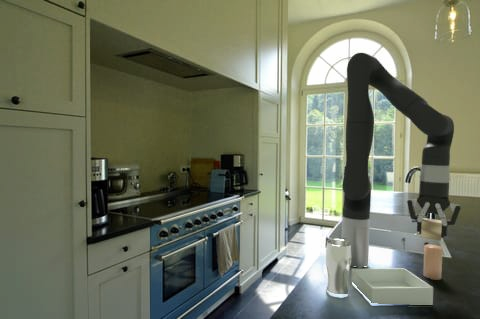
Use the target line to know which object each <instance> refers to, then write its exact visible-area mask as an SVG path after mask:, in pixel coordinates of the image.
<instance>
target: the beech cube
mask: <svg viewBox="0 0 480 319" xmlns="http://www.w3.org/2000/svg"><path fill="white" fill-rule="evenodd" d="M441 231H442V222H441V219H440V220H439V219H434V218H425V217H423V219H422V226H421V234H420V238H423V239H429V240H433V241H434V240H435V241H440V242H441V241H442V238H441Z"/></svg>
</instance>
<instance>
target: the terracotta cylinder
mask: <svg viewBox="0 0 480 319" xmlns="http://www.w3.org/2000/svg"><path fill="white" fill-rule="evenodd" d="M423 247H424V250H423V273H422V274H423V277H425V278H427V279H429V278H430V279H429V280H435V281H440V280H441V279H442V271H443V270H442V268H443V266H442V264H443V247H442V246H439V245H436V244H429V243H428V244H424V246H423Z"/></svg>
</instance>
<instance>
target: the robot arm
mask: <svg viewBox="0 0 480 319" xmlns="http://www.w3.org/2000/svg"><path fill="white" fill-rule="evenodd" d="M346 80H347V81H346V82H347V83H346V84H347V105H346V108H347V109H346V120H345V121H346V122H345V123H346V124H345V167H344V168H345V169H344V174H343V179H342V180H343V181H342V184H341V188H342V192H343V194H344V195H343V196H344V197H343V206H342V218H341V219H342V220H341V222H342V224H341V225H342V226H341V227H342V228H341V240H345V241H348V242H350V243H351V266H356V267H364V266H367V265H368V266H369V251H370V250H369V248H370V217H371V216H370V214H371V199H372V198H371V196H372V195H371V194H372V183H371V180H370V178H369V158H370V154H371V149H372V147H373V139H374V130H375V129H374V128H375V116H374V115H375V114H374V112H373V111H374V110H373V106H372V104H371V98H370V94H369V93H370V92H369V88H370V87H369V86H371V87H372V88H374V89H376V90H377V91H378V92H380V93H381V94H382V95H383V96H384V97H385V99H386V100H387V101H388V102H389V104H391V105H392V107H394V108H395V109H396V110H397V111H399V112H400V113H401V114H402V115H404V117H406V118H408V119H409V120H410V121H411V123H412V124H413V125H415V127H417V129H418V130H420V132H422V133H423V134H424V135H426V136H427V137H426V144H425V146H424V147H423V149H422V152H421V167H420V171H419V189H418V190H419V191H418V197H417V198H415V199H411V198H409V199H408V200H407V202H406V203H407V207H408V212H409V215H410V216H409V217H410V219H411V220H414V221H416V222H417V224H416V232H417V233H419V235H421V226H422V220H423V218H425V215H426V214H434V215H438V216H439V217H438V218H439V219H440V220H441V222H442V231H441V239H444V238H445V237H447V236H448V226H454V225H455V224H456V222H457V219H458V216H459V214H460V211H461V209H462V208H461V207H462V206H461V205H460V204H459V203H457V204H455V203H453V202H452V203H451V201H450V198H449V196H450V182H451V181H450V180H451V171H450V170H451V169H450V164H451V163H450V162H451V153H450V152H451V146H452V142H453V138H454V133H455V123H454V121H453V119H452V117H450V116H449V115H446V114H443V113H441V112H439V111H438V110H437V109H435V108H434V107H432V106H431V105H430V104H429V103H428V101H426V99H425V98H423V97H422V96H421V95H419V94H418V93H417V92H415V91H413V89H411V88H409V87H408V86H407V85H405V84H404V83H402V82H401V81H399V80H398V79H397V78H396V77H394V76H393V74H391V73H390V72H389V71H388V70H387V69H386V67H385V66H383V64H382V62H380V61H379V60H378V58H376V57H375V56H373V55H370V54H369V53H366V52H356V53H355V54H353V55H352V56H351V57H350V59H349V60H348V63H347V67H346ZM417 204H418V205H419V207H420V208H421V211H420V213H419V215H416V210H415V207H416V205H417ZM449 207H450V208H451V209H450V210H451V211H452V215H451V217H450V219H447V216H446V213H445V211H446V209H448V208H449ZM368 266H367V267H368Z"/></svg>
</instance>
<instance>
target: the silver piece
mask: <svg viewBox="0 0 480 319" xmlns="http://www.w3.org/2000/svg"><path fill="white" fill-rule="evenodd" d="M325 264H326V271H327V282H328V283H327V286H326V291H327V290H328V291H329V292H331V293H334V294H347V293H348V294H349V289H348V288H349V287H348V281H349V280H348V279H349V276H350V271H351V270H350V269H351V267H350V266H351V243H350V242H348V241H345V240H342V239H340V238H333V239H332V238H331V239H328V240H327V241H326V249H325Z"/></svg>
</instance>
